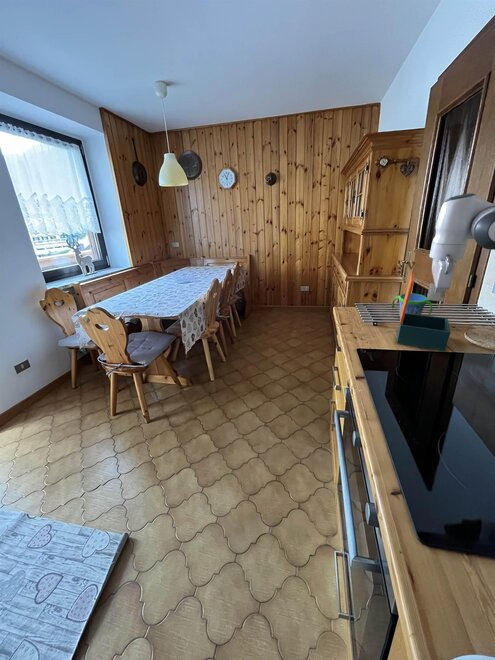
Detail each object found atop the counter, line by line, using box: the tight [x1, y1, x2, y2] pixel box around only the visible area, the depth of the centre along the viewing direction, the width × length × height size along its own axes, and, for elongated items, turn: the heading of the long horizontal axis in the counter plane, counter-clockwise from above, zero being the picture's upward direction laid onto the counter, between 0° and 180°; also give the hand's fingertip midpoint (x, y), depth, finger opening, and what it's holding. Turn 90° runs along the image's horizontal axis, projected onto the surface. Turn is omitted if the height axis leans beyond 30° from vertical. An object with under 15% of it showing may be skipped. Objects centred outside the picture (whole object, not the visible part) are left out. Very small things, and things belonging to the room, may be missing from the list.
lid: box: [399, 271, 415, 324], centre depth 104 cm, size 16×12×1 cm
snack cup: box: [391, 292, 433, 317], centre depth 123 cm, size 16×10×10 cm
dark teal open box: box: [396, 313, 452, 352], centre depth 107 cm, size 15×12×8 cm
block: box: [426, 283, 447, 302], centre depth 94 cm, size 4×4×4 cm
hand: (436, 293), depth 94 cm, fingers closed on block, 4 cm apart
